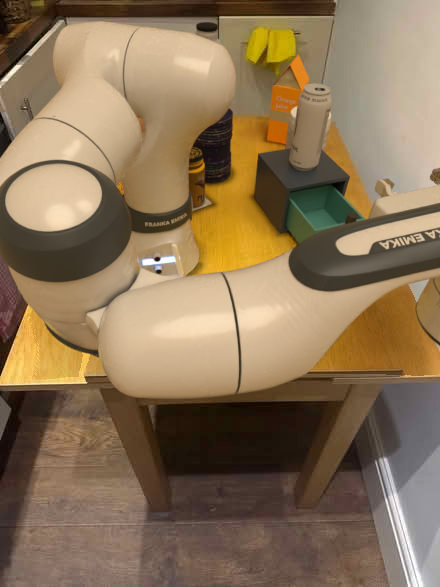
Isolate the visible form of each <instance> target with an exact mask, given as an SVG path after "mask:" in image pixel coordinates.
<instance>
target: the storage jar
mask: <svg viewBox="0 0 440 587" xmlns="http://www.w3.org/2000/svg"><path fill="white" fill-rule="evenodd" d="M233 118H234V112H233V110H232V109H231V108H230V107H229V109H228V110H227V112H226V113H225V115H224V116H223V117H222V118H221V119H220V120H219V121H217V122H216V123H215V124H213V125H211V126H209V127H208V128H207V129H205V130H204V131H203V132H202V133H201V134H200V135H199V136H198V138H197V139H196V140H195V142H194V144H193V146H192V147H195V148H198V149H200V150H201V151H202V153H203V162H204V164H205V184H210V185H213V184H219V183H223V182H225V181H226V180H228V179H229V178H230V176H231V167H232V150H231V143H232V142H231V141H232V139H233V130H234V124H233V121H234V120H233Z"/></svg>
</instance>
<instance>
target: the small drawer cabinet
mask: <svg viewBox="0 0 440 587" xmlns="http://www.w3.org/2000/svg"><path fill="white" fill-rule="evenodd" d="M290 150H291V148H288V149H285V148H283V149H277V150H272V151H266V152H259V153H258V154H257V162H256V172H255V181H254V182H255V183H254V192H253V198H254V200H255V201H256V202H257V204H258V205H259V206H260V208H261V209H262V211H263V212H264V214H265V215H266V216H267V218H268V219H269V221H270V222H271V223H272V225H273V226H274V227H275V229H276V230H277V232H278V233H279V234H284V233H290V231H289V230H288V229H287V227H286V226H285V219H286V213H287V208H288V202H289V196H290V191H295V190H300V189H305V188H310V187H315V186H320V185H325V184H330V183H331V184H332V185H333V186H334V187H335V188H336V189H337V190H338V191H339V192H340V193H341V194H342V195H343V196H344V197H345V196H346V192H347V188H348V185H349V182H350V179H351V176H350V175H349V174H348V173H347V172H346V170H344V169H343V168H342V167H341V166H340V165H339V164H338V163H337V162H336V161H334V159H332V157H330V156H329V154H327V152H326V151H325V152H324V151H323V150H322V149H321V154H320V158H319V163H318V165H317V166H315V168H314V169H312V170H310V171H300V170H297V169H295V168H293V167H292V165H291V163H290V161H289V156H290Z"/></svg>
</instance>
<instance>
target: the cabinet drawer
mask: <svg viewBox="0 0 440 587" xmlns="http://www.w3.org/2000/svg"><path fill="white" fill-rule="evenodd" d="M365 219H366V217H364V216H363V214H361V212H359V210H357V209H356V208H355V206H354V205H352V204H351V202H350V201H349V200H347V198H346V197H345V196H343V195H342V194H341V193H340V192H339V191H338V190H337V189H336V188H335V187H334V186H333V185H332V184H331V183H330V184H325V185H320V186H315V187H310V188H305V189H300V190H295V191H290V196H289V202H288V208H287V213H286V219H285V226H286V227H287V229H288V230H289V233H290V234H291V236H292V237H293V239H295V241H296V242H297V244H300V243H301V242H302V241H304V240H305V239H307V238H308V237H310V236H312V235H314V234H316V233H318V232H321V231H324V230H327V229H330V228H333V227H337V226H341V225H344V224H348V223H353V222H357V221H361V220H365Z"/></svg>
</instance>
